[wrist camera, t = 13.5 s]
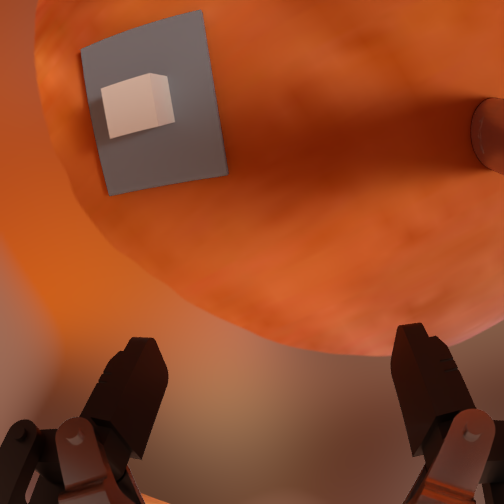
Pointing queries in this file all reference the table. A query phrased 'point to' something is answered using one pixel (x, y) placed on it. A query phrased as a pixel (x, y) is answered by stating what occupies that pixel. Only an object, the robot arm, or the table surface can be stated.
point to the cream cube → (137, 104)
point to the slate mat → (182, 97)
